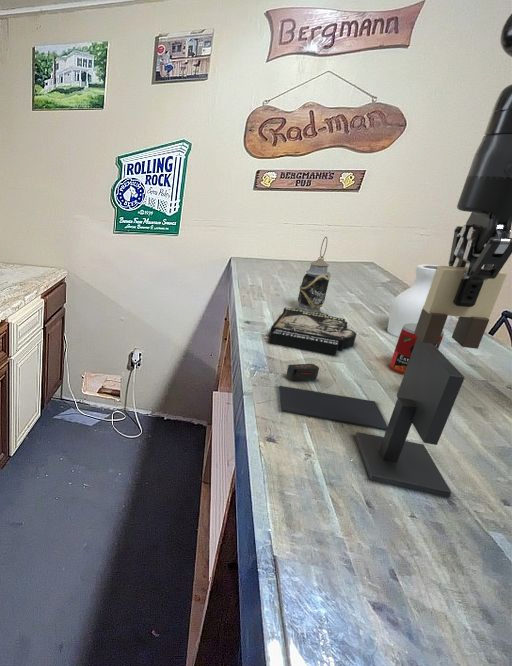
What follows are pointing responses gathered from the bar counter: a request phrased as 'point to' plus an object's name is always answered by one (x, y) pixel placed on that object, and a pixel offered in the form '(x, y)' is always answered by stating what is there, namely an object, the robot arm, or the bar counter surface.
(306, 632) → the bar counter surface
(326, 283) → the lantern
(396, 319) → the vase
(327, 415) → the mat
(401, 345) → the canned food
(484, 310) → the small wooden bench
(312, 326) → the decorative sign
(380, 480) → the monitor
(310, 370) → the wireless earbuds
